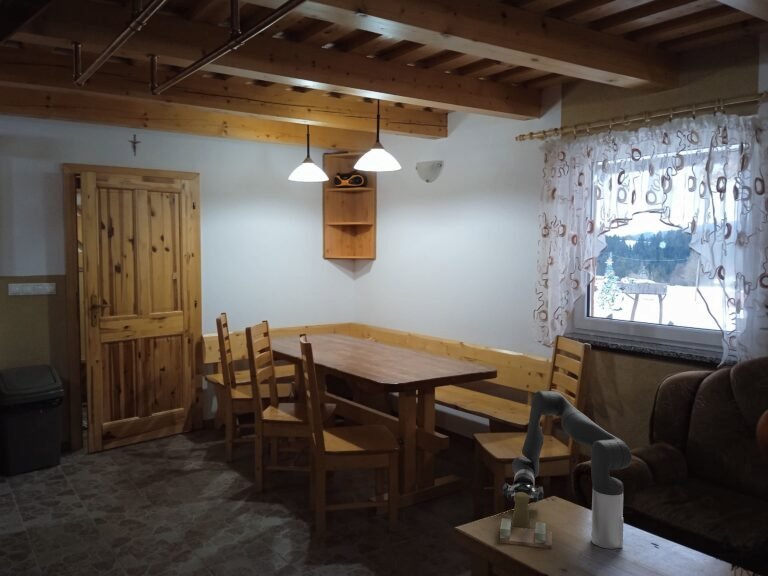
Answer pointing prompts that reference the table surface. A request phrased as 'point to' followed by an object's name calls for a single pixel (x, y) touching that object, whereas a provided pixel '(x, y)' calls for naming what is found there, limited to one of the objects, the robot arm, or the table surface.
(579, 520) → the table surface
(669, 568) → the table surface
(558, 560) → the table surface
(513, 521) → the cork
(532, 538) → the endcap cradle
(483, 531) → the table surface
